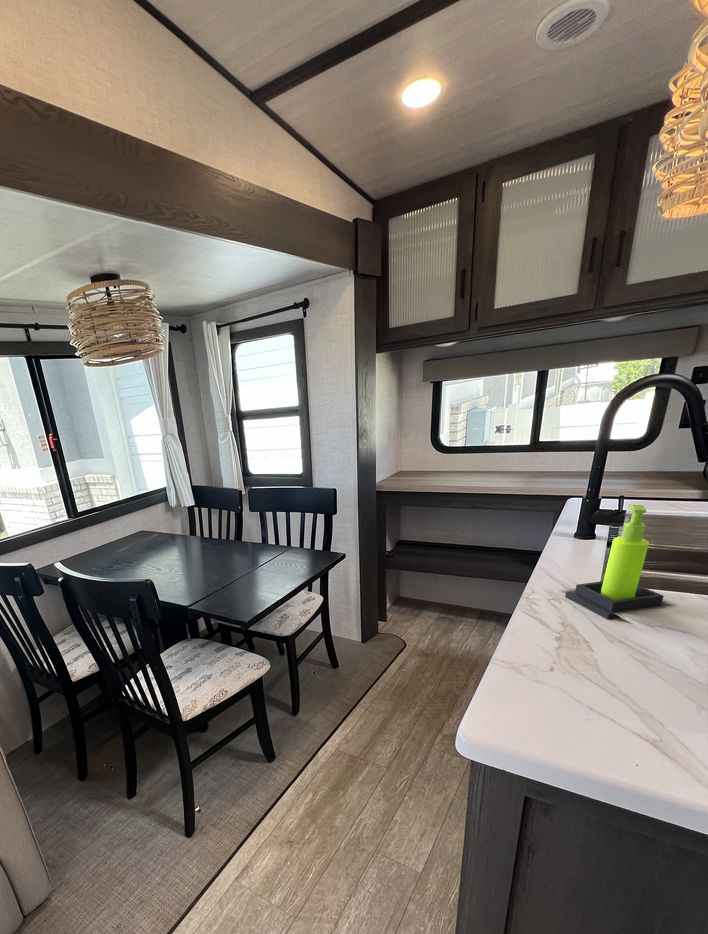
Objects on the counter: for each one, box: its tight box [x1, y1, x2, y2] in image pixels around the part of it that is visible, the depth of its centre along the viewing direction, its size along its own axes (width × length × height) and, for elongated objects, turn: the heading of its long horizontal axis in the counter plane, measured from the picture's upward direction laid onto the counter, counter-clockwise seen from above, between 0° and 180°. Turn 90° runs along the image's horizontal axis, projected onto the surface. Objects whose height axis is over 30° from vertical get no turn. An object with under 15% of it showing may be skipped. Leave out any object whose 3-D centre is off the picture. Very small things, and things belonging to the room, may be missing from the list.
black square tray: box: [564, 580, 670, 620], centre depth 101 cm, size 14×12×3 cm
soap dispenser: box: [601, 504, 650, 600], centre depth 97 cm, size 6×7×20 cm
